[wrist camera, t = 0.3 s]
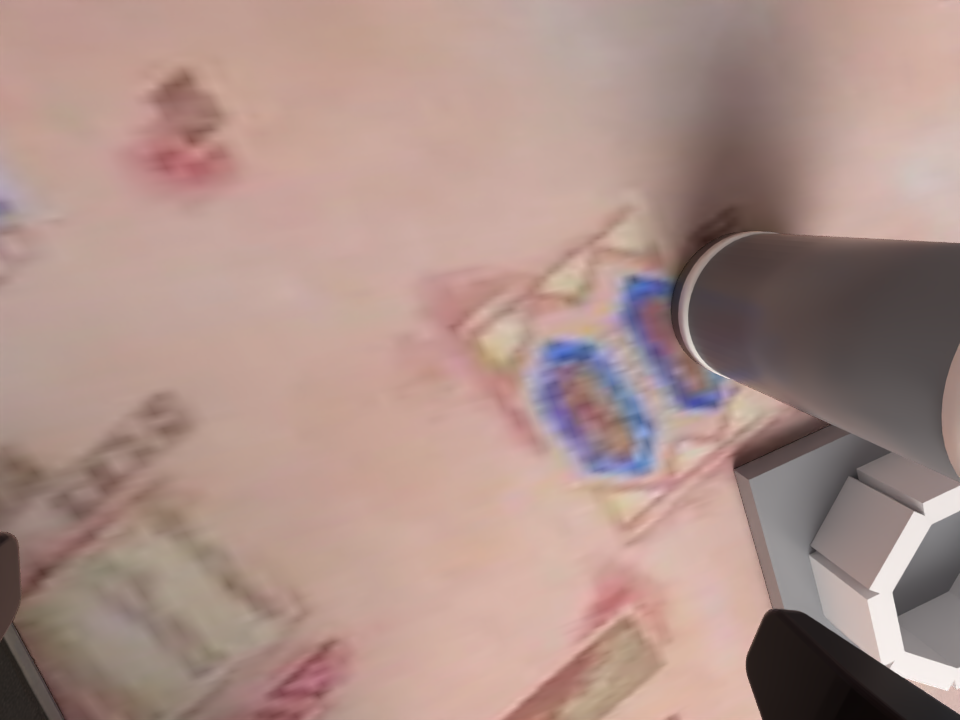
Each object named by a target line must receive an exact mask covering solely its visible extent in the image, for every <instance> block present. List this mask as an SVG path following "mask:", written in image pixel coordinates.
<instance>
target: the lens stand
mask: <svg viewBox="0 0 960 720" xmlns="http://www.w3.org/2000/svg"><path fill="white" fill-rule="evenodd" d="M734 472H735V476H736V480H737V483H738V487H739V490H740V494H741V497H742V501H743V504H744V508H745V511H746V515H747V518H748V522H749V526H750V529H751V533H752V536H753V540H754V543H755V547H756V550H757V554H758V557H759V561H760V564H761V568H762V572H763V575H764V579H765V582H766V586H767V589H768V593H769V596H770V600H771V603H772V607H773V609H775V608H777V609H788V610H797V611H801V612H804V613H805V614H807V615H809V616H810V617H812V618H813V619H815V620H816V621H818V622H819V623H821V624H822V625H824V626H825V627H827V628H828V629H830V630H831V631H833V632H835V633H836V634H838V635H839V636H841V637H842V638H844V639H845V640H847V641H848V642H850V643H851V644H853V645H854V646H856V647H857V648H859V649H860V650H862V651H863V652H865V653H867V654H868V655H870V656H871V657H873V658H874V659H876V660H877V661H879V662H880V663H882V664H883V665H885V666H886V667H888V668H889V669H891V670H892V671H894V672H895V673H897V674H899V675H900V676H902V677H903V678H907V679H910V680H913V681H916V682H920V683H923V684H926V685H929V686H933V687H936V688H939V689H943V690H946V691H948V690H949V688H950V686H953V687H954V688H955V689H956V690H957V689H959V688H960V483H959V482H957V481H955V480H953V479H950V478H948V477H946V476H944V475H942V474H939V473H937V472H935V471H933V470H931V469H928V468H926V467H924V466H922V465H920V464H917V463H915V462H913V461H911V460H909V459H906V458H904V457H902V456H900V455H898V454H895V453H893V452H891V451H889V450H886V449H884V448H882V447H880V446H878V445H875V444H873V443H871V442H869V441H867V440H864V439H862V438H860V437H858V436H856V435H853V434H851V433H849V432H847V431H845V430H842V429H840V428H838V427H836V426H834V425H830V426H828V427H826V428H823V429H821V430H819V431H817V432H815V433H812V434H810V435H808V436H806V437H804V438H802V439H799V440H797V441H795V442H793V443H791V444H788V445H786V446H784V447H782V448H780V449H778V450H775V451H773V452H771V453H769V454H767V455H764V456H762V457H760V458H758V459H756V460H753V461H751V462H749V463H747V464H745V465H743V466H740V467H738V468H736V469H734Z"/></svg>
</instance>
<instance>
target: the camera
mask: <svg viewBox="0 0 960 720" xmlns="http://www.w3.org/2000/svg"><path fill="white" fill-rule="evenodd" d="M0 720H64V718H63V716H62V714H61V712H60V710H59V708H58V706H57V704H56V703H55V701H54V699H53V697H52V695H51V693H50V691H49V690H48V688H47V686H46V684H45V682H44V680H43V678H42V677H41V675H40V673H39V671H38V669H37V667H36V665H35V664H34V662H33V660H32V658H31V656H30V654H29V653H28V651H27V649H26V647H25V645H24V643H23V641H22V640H21V638H20V636H19V634H18V632H17V630H16V629H15V627H14V625H13V623H11V624H10V626H9V628H8V630H7V631H6V633H5V635H4V636H3V638H2V640H1V641H0Z"/></svg>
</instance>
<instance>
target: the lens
mask: <svg viewBox="0 0 960 720" xmlns="http://www.w3.org/2000/svg"><path fill="white" fill-rule="evenodd" d="M671 314H672V324H673V329H674V332H675V335H676V338H677V340H678V342H679V344H680V345H681V347H682V348H683V350H684V351H685V352H686V353H687V355H688V356H689V357H690V358H692V359H693V360H694V361H695V362H697V363H698V364H700V365H702V366H703V367H704V368H706V369H708V370H709V371H711V372H714V373H716V374H718V375H720V376H723V377H725V378H728V379H732V380H735V381H737V382H739V383H741V384H743V385H746V386H748V387H750V388H752V389H754V390H757V391H759V392H761V393H763V394H765V395H768V396H770V397H772V398H774V399H776V400H779V401H781V402H783V403H785V404H787V405H790V406H792V407H794V408H796V409H798V410H801V411H803V412H805V413H807V414H809V415H812V416H814V417H816V418H818V419H820V420H823V421H825V422H827V423H829V424H831V425H834V426H836V427H838V428H840V429H842V430H845V431H847V432H849V433H851V434H853V435H856V436H858V437H860V438H862V439H864V440H867V441H869V442H871V443H873V444H875V445H878V446H880V447H882V448H884V449H886V450H889V451H891V452H893V453H895V454H898V455H900V456H902V457H904V458H906V459H909V460H911V461H913V462H915V463H917V464H920V465H922V466H924V467H926V468H928V469H931V470H933V471H935V472H937V473H939V474H942V475H944V476H946V477H948V478H950V479H953V480H955V481H957V482H959V483H960V243H946V242H927V241H907V240H888V239H869V238H849V237H830V236H811V235H791V234H779V233H774V232H762V231H749V232H738V233H732V234H728V235H724V236H722V237H719V238H717V239H715V240H713V241H711V242H710V243H708V244H706V245H705V246H704V247H703V248H701V249H700V250H699V251H698V252H697V253H696V254H695V255H694V256H693V257H692V258H691V259H690V261H689V262H688V263H687V264H686V266H685V268H684V269H683V271H682V272H681V274H680V276H679V279H678V281H677V283H676V286H675V290H674V293H673V298H672V308H671Z"/></svg>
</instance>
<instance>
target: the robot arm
mask: <svg viewBox="0 0 960 720" xmlns="http://www.w3.org/2000/svg"><path fill="white" fill-rule="evenodd" d="M20 600H21V577H20V559H19V545H18V541H17V539H16V537H15V536H14V535H12V534H10V533H8V532H0V641H1V640H2V638H3V636H4V635H5V633H6V631H7V630H8V628H9V626H10V624H11V623H12V621H13V619H14V617H15V615H16V613H17V611H18V608H19V605H20ZM746 672H747V676H748V680H749V683H750V686H751V688H752V691H753V694H754V697H755V700H756V703H757V706H758V709H759V711H760V714H761V717H762V720H960V715H959V714H958V713H956V712H955V711H953V710H952V709H950V708H949V707H947V706H946V705H944V704H943V703H941V702H940V701H938V700H937V699H935V698H934V697H932V696H931V695H929V694H927V693H926V692H924V691H923V690H921V689H920V688H918V687H917V686H915V685H914V684H912V683H911V682H909V681H908V680H906V679H905V678H903V677H902V676H900V675H899V674H897V673H895V672H894V671H892V670H891V669H889V668H888V667H886V666H885V665H883V664H882V663H880V662H879V661H877V660H876V659H874V658H873V657H871V656H870V655H868V654H867V653H865V652H863V651H862V650H860V649H859V648H857V647H856V646H854V645H853V644H851V643H850V642H848V641H847V640H845V639H844V638H842V637H841V636H839V635H838V634H836V633H835V632H833V631H831V630H830V629H828V628H827V627H825V626H824V625H822V624H821V623H819V622H818V621H816V620H815V619H813V618H812V617H810V616H809V615H807V614H805V613H804V612H801V611H797V610H788V609H777V608H775V609H771V610H769V611H768V612H767V613H766V614H765V615H764V617H763V619H762V621H761V623H760V626H759V628H758V630H757V633H756V635H755V637H754V640H753V642H752V644H751V647H750V649H749V651H748V654H747V657H746Z"/></svg>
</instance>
